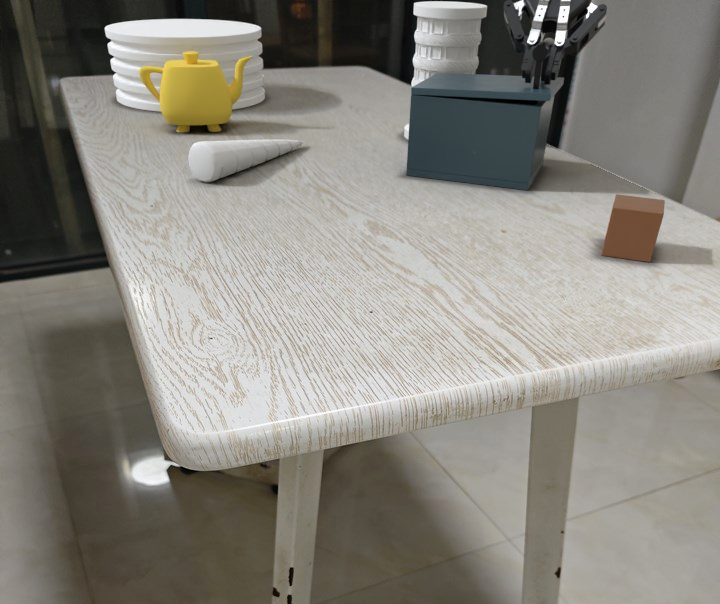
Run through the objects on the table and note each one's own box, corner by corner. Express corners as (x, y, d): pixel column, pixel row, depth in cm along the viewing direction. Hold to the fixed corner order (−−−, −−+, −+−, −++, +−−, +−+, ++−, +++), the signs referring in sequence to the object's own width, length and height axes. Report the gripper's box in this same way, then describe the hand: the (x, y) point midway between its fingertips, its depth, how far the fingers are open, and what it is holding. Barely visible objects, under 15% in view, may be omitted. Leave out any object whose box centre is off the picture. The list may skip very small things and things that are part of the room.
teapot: (254, 118, 123) (250, 47, 116) (259, 133, 114) (255, 57, 108) (148, 120, 120) (137, 47, 113) (145, 135, 111) (133, 57, 105)
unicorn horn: (323, 149, 107) (323, 114, 104) (214, 186, 91) (210, 146, 88) (298, 145, 109) (297, 110, 106) (188, 180, 93) (183, 141, 90)
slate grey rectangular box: (542, 166, 102) (555, 89, 96) (527, 190, 93) (541, 107, 87) (430, 153, 107) (436, 79, 100) (406, 175, 97) (410, 95, 91)
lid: (563, 84, 95) (570, 35, 92) (549, 101, 86) (557, 47, 83) (436, 79, 100) (439, 32, 97) (411, 94, 91) (412, 43, 88)
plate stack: (119, 85, 144) (107, 18, 137) (256, 83, 149) (252, 18, 142) (114, 114, 123) (100, 37, 116) (274, 110, 128) (270, 36, 121)
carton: (651, 246, 77) (664, 199, 74) (650, 262, 74) (663, 214, 71) (604, 240, 79) (616, 193, 76) (601, 255, 75) (612, 207, 72)
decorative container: (408, 145, 110) (416, 7, 99) (400, 128, 119) (406, 0, 108) (481, 146, 111) (497, 9, 100) (467, 129, 120) (481, 1, 109)
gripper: (514, -71, 88) (481, 54, 87) (628, -70, 85) (596, 61, 83) (515, -22, 96) (485, 95, 94) (620, -18, 92) (591, 103, 91)
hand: (537, 79), depth 89 cm, fingers closed on lid, 2 cm apart
